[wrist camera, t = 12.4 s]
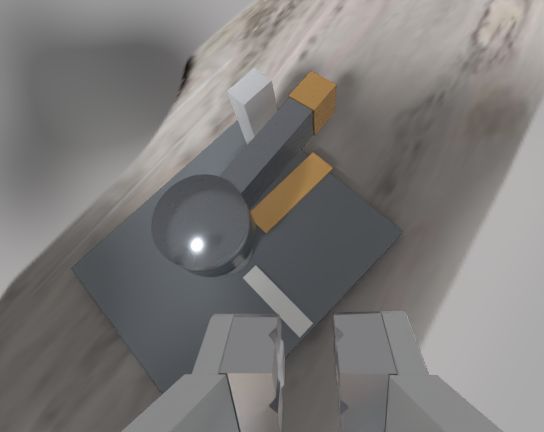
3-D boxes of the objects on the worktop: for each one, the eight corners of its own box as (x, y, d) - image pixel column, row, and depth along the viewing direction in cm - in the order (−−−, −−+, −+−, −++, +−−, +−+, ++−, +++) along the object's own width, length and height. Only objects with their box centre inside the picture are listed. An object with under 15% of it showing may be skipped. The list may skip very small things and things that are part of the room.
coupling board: (205, 442, 28) (148, 489, 19) (79, 270, 35) (-9, 243, 26) (403, 231, 32) (437, 185, 23) (255, 112, 39) (234, 39, 30)
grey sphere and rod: (356, 125, 29) (361, 96, 26) (215, 295, 26) (200, 288, 23) (292, 88, 32) (288, 58, 28) (154, 242, 28) (131, 228, 25)
